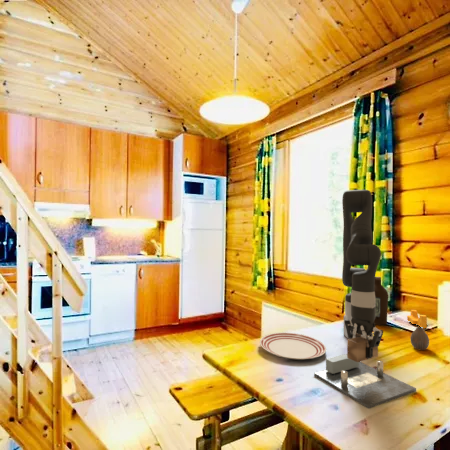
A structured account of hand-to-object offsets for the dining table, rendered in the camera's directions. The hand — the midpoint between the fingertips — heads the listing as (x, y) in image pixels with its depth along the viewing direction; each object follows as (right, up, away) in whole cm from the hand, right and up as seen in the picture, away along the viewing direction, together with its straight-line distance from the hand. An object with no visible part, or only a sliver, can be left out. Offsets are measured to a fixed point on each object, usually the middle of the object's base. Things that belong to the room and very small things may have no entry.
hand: (362, 355), depth 103 cm
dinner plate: (-17, -10, +28) cm, 35 cm away
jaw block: (0, -1, 0) cm, 1 cm away
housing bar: (-4, -8, +8) cm, 12 cm away
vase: (+39, -11, +32) cm, 51 cm away
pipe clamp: (+58, -11, +65) cm, 88 cm away
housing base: (0, -10, 0) cm, 10 cm away
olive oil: (+39, -11, +68) cm, 79 cm away
